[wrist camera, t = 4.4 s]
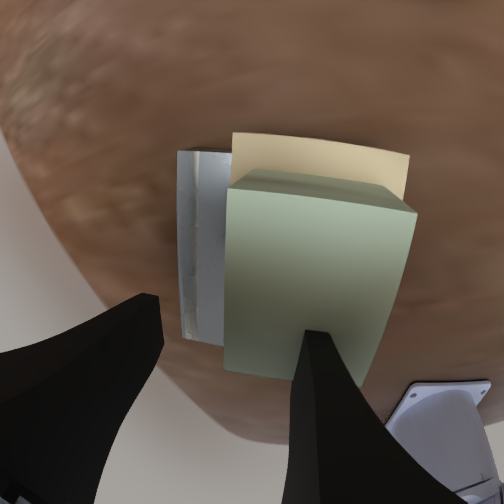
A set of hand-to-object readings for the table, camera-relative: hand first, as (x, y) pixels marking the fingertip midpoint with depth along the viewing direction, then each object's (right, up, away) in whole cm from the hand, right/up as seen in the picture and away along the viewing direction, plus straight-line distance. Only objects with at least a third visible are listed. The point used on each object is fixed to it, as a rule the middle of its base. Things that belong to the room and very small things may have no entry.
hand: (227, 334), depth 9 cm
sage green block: (+3, +3, +3) cm, 6 cm away
